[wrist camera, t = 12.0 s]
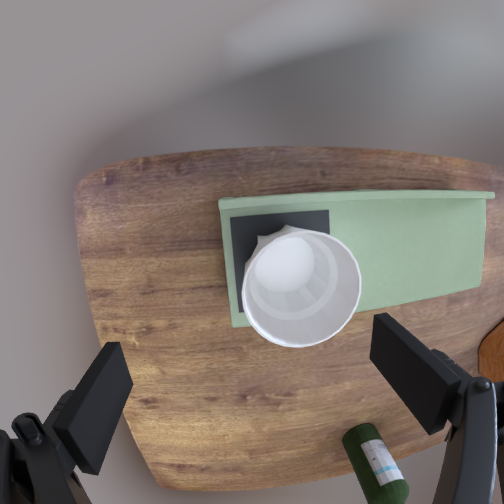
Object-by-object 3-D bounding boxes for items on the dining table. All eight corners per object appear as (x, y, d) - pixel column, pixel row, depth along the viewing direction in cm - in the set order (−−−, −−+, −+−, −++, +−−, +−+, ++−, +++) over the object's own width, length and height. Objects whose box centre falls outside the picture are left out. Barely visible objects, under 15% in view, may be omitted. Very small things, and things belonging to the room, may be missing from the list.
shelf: (231, 300, 43) (232, 335, 33) (221, 197, 40) (218, 200, 30) (448, 271, 45) (487, 290, 35) (451, 188, 42) (494, 192, 31)
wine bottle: (341, 450, 53) (383, 554, 24) (342, 429, 51) (392, 543, 22) (373, 440, 53) (424, 536, 24) (376, 418, 51) (437, 522, 22)
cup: (310, 204, 32) (343, 212, 22) (336, 285, 34) (371, 319, 25) (225, 237, 32) (222, 259, 23) (257, 316, 34) (267, 362, 25)
